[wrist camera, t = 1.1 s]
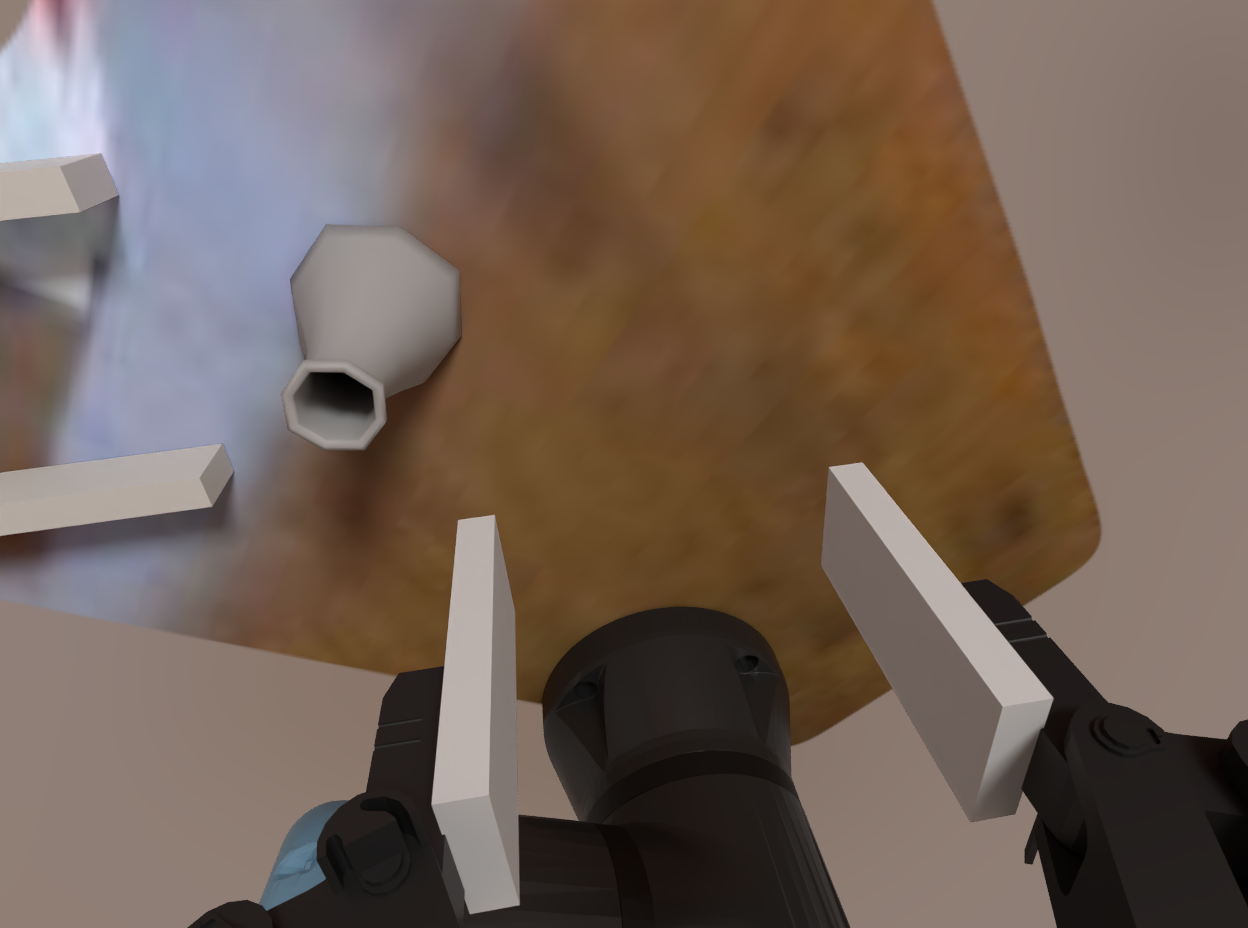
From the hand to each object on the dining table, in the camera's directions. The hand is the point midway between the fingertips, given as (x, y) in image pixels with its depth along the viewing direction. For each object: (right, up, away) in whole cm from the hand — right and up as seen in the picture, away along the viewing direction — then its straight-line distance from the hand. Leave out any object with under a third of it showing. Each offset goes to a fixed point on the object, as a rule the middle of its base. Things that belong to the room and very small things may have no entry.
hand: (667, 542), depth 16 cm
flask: (-12, +9, +16) cm, 21 cm away
